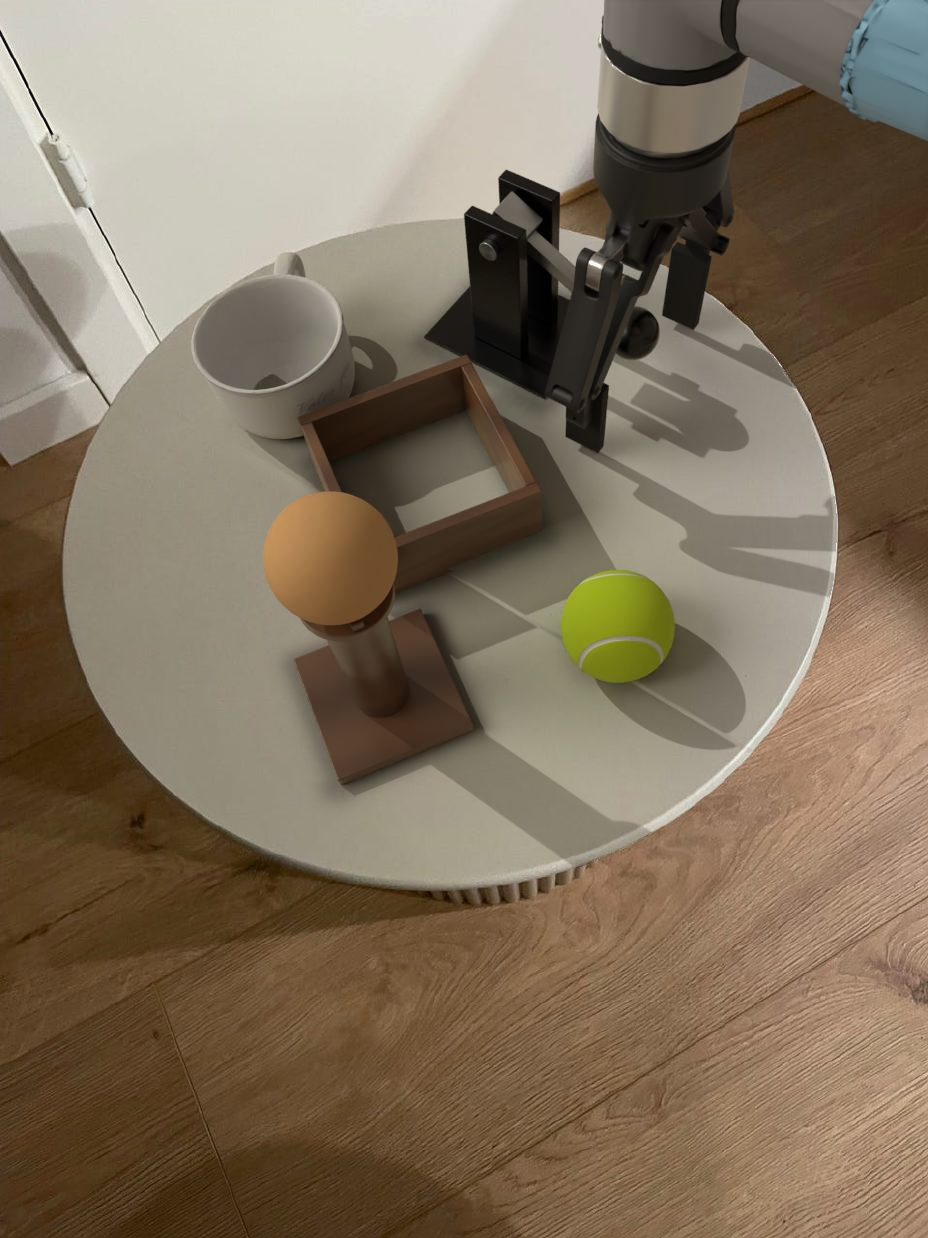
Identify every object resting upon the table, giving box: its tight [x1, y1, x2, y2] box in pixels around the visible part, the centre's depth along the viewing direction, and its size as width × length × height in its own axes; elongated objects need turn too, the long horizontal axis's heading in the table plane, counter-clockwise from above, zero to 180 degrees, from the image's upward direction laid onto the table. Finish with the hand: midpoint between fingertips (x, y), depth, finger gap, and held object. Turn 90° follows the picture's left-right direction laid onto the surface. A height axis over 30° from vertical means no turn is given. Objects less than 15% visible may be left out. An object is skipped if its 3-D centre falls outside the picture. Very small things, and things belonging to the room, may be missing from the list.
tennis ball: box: [560, 569, 676, 684], centre depth 62 cm, size 7×7×7 cm
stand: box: [293, 584, 475, 786], centre depth 58 cm, size 9×9×15 cm
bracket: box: [423, 169, 570, 400], centre depth 72 cm, size 11×9×13 cm
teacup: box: [190, 251, 356, 440], centre depth 73 cm, size 14×11×8 cm
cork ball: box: [262, 491, 398, 625], centre depth 48 cm, size 6×6×6 cm
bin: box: [297, 355, 543, 595], centre depth 69 cm, size 13×13×6 cm
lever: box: [491, 191, 661, 362], centre depth 68 cm, size 14×4×4 cm, turn 54°
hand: (633, 378), depth 73 cm, fingers open, 13 cm apart
